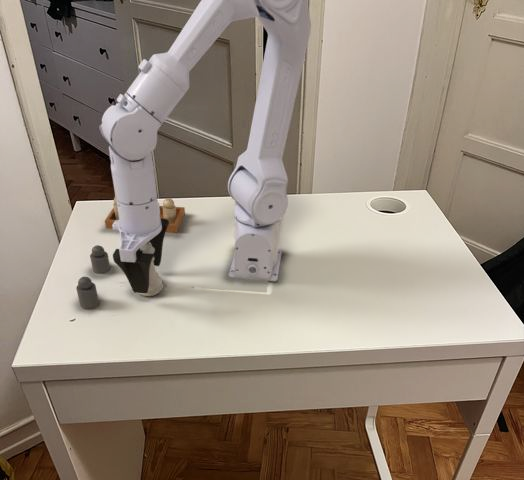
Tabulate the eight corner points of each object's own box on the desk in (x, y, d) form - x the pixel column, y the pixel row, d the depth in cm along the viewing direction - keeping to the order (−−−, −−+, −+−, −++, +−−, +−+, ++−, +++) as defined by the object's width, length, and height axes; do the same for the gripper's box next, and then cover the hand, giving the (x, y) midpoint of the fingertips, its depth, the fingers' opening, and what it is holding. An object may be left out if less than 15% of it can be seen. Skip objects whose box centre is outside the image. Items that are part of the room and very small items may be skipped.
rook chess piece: (167, 293, 89) (162, 248, 84) (140, 300, 88) (133, 255, 82) (158, 278, 92) (152, 235, 87) (131, 285, 91) (124, 241, 85)
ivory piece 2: (175, 226, 105) (173, 202, 101) (162, 225, 105) (160, 201, 102) (178, 220, 106) (176, 196, 103) (165, 219, 106) (163, 195, 103)
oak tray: (177, 235, 103) (176, 225, 102) (106, 230, 104) (104, 220, 103) (185, 216, 108) (184, 207, 107) (118, 212, 109) (116, 202, 108)
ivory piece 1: (126, 223, 105) (123, 198, 102) (114, 222, 105) (110, 198, 102) (130, 216, 107) (126, 193, 104) (118, 216, 107) (114, 192, 104)
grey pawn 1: (95, 310, 86) (89, 283, 82) (77, 308, 86) (71, 282, 83) (101, 299, 88) (96, 273, 84) (84, 298, 88) (78, 271, 85)
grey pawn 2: (107, 276, 92) (102, 251, 89) (91, 275, 93) (85, 250, 89) (113, 267, 94) (108, 242, 91) (96, 266, 95) (91, 241, 92)
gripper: (123, 173, 85) (135, 251, 94) (91, 218, 74) (107, 302, 83) (169, 176, 85) (176, 254, 94) (144, 222, 74) (155, 306, 83)
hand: (147, 277), depth 88 cm, fingers open, 7 cm apart
